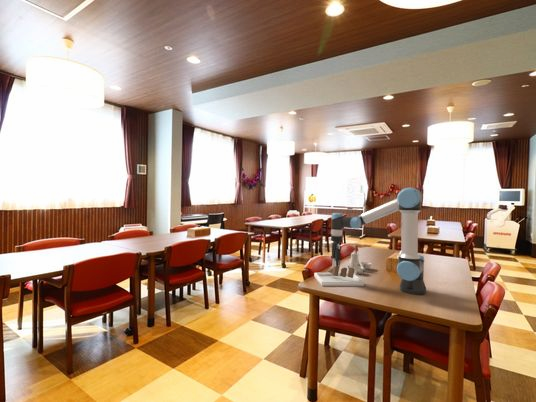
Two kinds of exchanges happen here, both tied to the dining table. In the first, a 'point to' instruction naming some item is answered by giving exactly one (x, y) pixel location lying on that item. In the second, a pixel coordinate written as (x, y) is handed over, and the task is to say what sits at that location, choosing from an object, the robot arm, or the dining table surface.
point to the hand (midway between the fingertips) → (335, 268)
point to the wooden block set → (343, 271)
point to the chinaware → (356, 265)
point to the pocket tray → (338, 280)
